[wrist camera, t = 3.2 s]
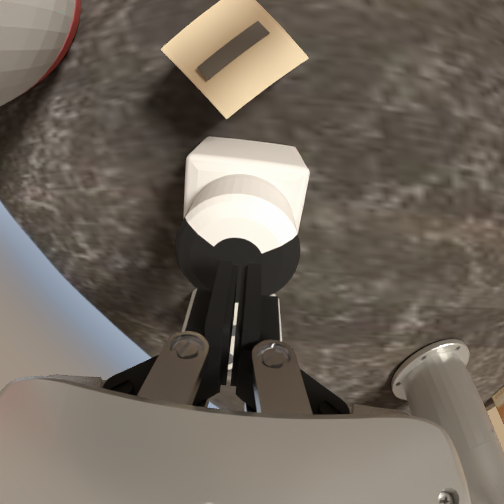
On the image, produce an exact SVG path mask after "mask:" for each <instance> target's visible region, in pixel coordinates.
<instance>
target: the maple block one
mask: <svg viewBox="0 0 504 504" xmlns="http://www.w3.org/2000/svg"><path fill="white" fill-rule="evenodd" d="M161 50H162V51H163V52H164V53H165V54H166V55H167V56H168V57H169V58H170V59H171V60H172V62H173V63H174V64H175V65H176V66H177V67H178V68H179V69H180V70H181V71H182V72H183V73H184V74H185V75H186V76H187V77H188V78H189V79H190V80H191V81H192V82H193V83H194V84H195V85H196V87H197V88H198V89H199V90H200V91H201V92H202V93H203V94H204V95H205V96H206V97H207V98H208V99H209V101H210V102H211V103H212V104H213V105H214V106H215V107H216V108H217V109H218V110H219V111H220V113H221V114H222V115H223V116H224V117H225V118H226V119H228V118H229V117H230V116H231V115H233V114H234V113H235V112H236V111H238V110H239V109H240V108H241V107H243V106H244V105H245V104H246V103H248V102H249V101H250V100H252V99H253V98H254V97H255V96H257V95H258V94H259V93H261V92H262V91H263V90H265V89H266V88H267V87H269V86H270V85H271V84H273V83H274V82H275V81H277V80H278V79H280V78H281V77H282V76H284V75H285V74H287V73H288V72H289V71H291V70H292V69H294V68H295V67H297V66H298V65H299V64H301V63H302V62H304V61H305V60H307V59H308V57H307V56H306V54H305V53H304V52H303V51H302V50H301V48H300V47H299V46H298V45H297V44H296V43H295V42H294V40H293V39H292V38H291V37H290V36H289V35H288V34H287V33H286V31H285V30H284V29H283V28H282V27H281V26H280V25H279V24H278V23H277V22H276V21H275V20H274V19H273V18H272V17H271V16H270V14H269V13H268V12H267V11H266V10H265V9H264V8H263V7H262V6H261V5H260V4H259V3H258V2H257V1H256V0H220V1H219V2H218V3H216V4H215V5H214V6H212V7H211V8H210V9H208V10H207V11H206V12H204V13H203V14H202V15H200V16H199V17H198V18H197V19H195V20H194V21H193V22H192V23H190V24H189V25H188V26H187V27H186V28H184V29H183V30H182V31H181V32H180V33H178V34H177V35H176V36H175V37H174V38H173V39H172V40H170V41H169V42H168V43H167V44H166V45H165V46H164V47H163V48H162V49H161Z"/></svg>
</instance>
